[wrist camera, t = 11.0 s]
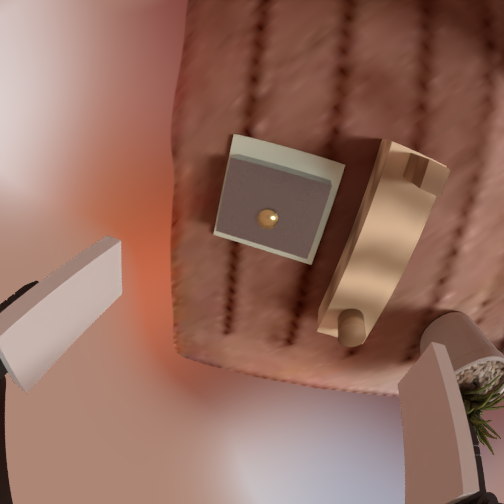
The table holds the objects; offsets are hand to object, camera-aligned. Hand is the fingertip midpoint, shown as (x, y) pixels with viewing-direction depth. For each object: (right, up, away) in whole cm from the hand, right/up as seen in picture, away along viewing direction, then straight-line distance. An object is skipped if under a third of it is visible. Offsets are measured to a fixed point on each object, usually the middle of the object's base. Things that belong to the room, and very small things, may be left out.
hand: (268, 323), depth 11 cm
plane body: (+13, +4, +20) cm, 24 cm away
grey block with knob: (+2, +8, +20) cm, 22 cm away
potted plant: (+27, -10, +23) cm, 37 cm away
